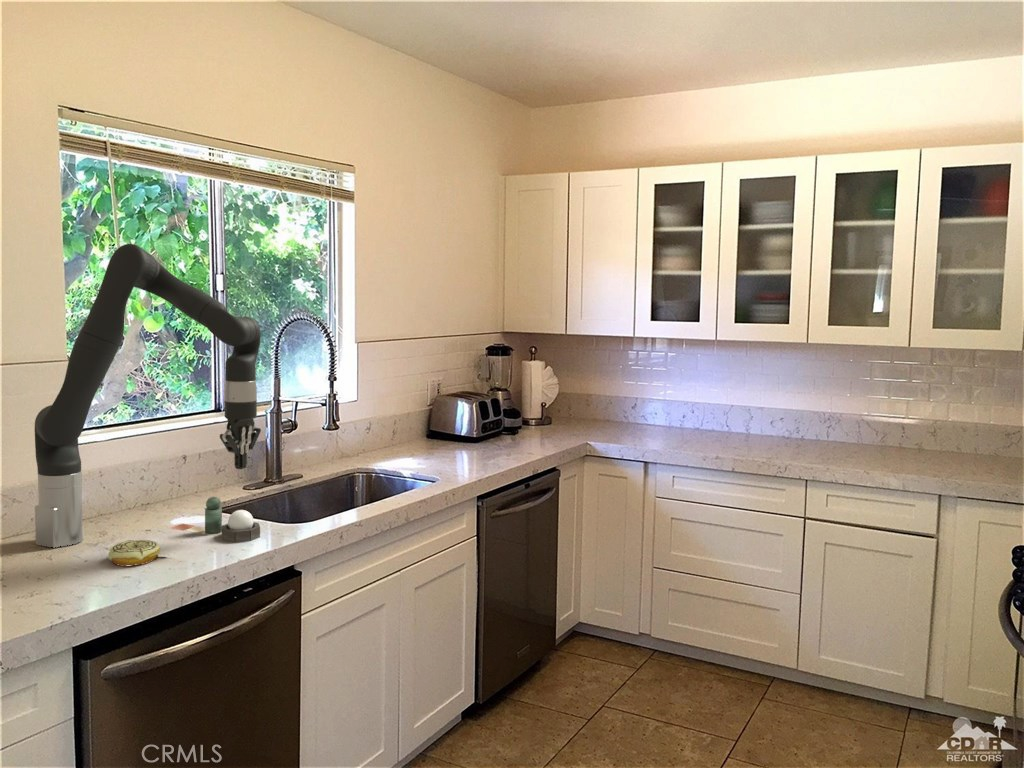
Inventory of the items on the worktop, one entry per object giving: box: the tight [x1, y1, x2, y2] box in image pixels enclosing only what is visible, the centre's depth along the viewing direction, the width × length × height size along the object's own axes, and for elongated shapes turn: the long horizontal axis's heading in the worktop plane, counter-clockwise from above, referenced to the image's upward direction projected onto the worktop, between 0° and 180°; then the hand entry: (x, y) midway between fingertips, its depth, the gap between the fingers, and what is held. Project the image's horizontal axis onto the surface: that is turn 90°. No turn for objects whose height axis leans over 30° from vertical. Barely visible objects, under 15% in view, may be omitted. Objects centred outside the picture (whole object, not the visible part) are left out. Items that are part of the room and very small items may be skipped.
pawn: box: [204, 496, 223, 535], centre depth 209 cm, size 4×4×9 cm
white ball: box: [227, 509, 254, 531], centre depth 206 cm, size 6×6×6 cm
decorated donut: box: [107, 539, 161, 566], centre depth 190 cm, size 10×11×4 cm
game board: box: [170, 521, 261, 543], centre depth 209 cm, size 10×25×4 cm, turn 69°
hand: (240, 468), depth 205 cm, fingers closed
